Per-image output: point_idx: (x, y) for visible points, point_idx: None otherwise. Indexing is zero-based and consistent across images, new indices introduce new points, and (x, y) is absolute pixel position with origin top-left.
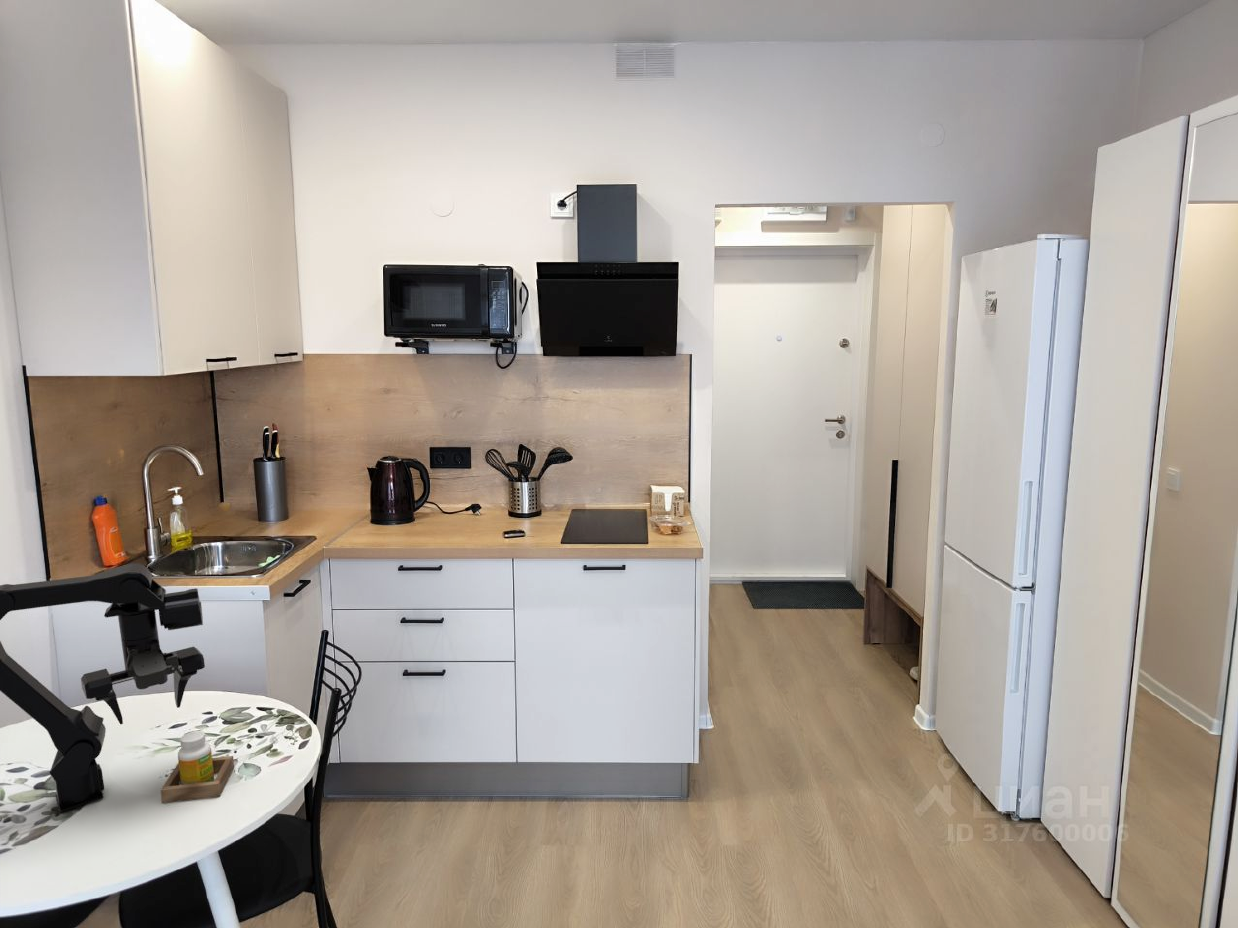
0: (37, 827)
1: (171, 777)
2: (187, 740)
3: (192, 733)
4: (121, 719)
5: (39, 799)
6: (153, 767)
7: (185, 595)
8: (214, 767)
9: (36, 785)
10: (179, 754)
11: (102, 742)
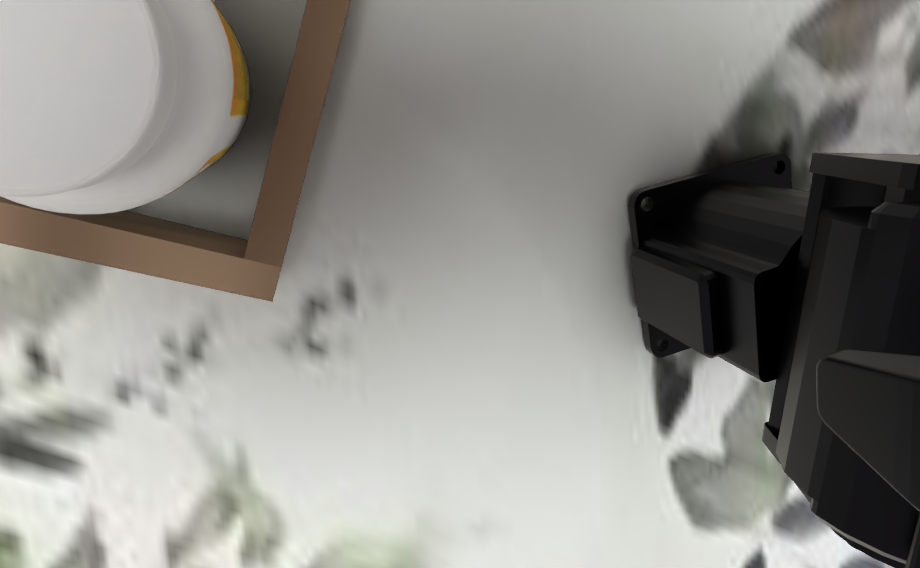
0: (851, 75)
1: (304, 96)
2: None
3: (13, 133)
4: (890, 363)
5: None
6: (418, 407)
7: None
8: None
9: None
10: (203, 8)
11: (852, 285)
